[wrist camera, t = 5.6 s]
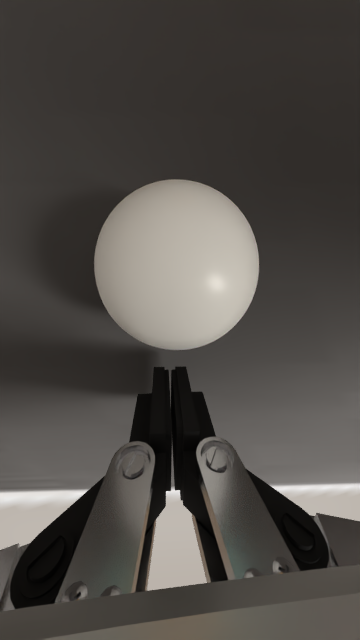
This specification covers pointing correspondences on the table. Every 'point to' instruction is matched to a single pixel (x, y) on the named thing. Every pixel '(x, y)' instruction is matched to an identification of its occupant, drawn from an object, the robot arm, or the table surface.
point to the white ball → (176, 264)
